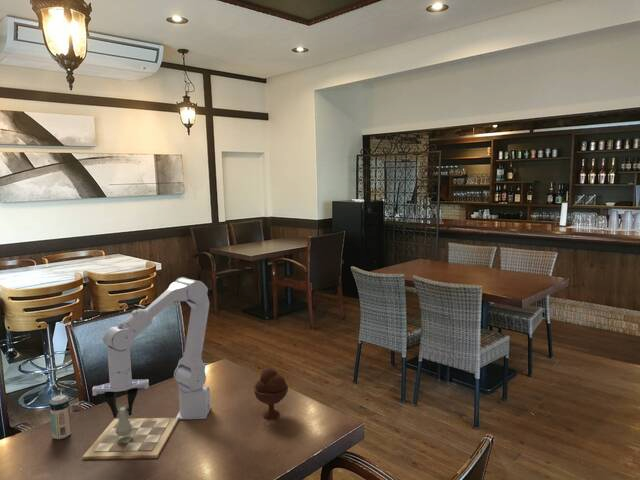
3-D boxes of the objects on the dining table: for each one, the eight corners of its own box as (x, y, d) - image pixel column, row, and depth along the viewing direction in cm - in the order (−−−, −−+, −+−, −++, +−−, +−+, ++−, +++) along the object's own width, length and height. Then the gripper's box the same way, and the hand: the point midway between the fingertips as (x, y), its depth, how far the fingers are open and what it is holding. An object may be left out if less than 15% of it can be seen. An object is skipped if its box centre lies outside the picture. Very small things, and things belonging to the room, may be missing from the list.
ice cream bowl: (247, 420, 142) (246, 374, 140) (265, 404, 152) (264, 361, 150) (278, 426, 138) (277, 379, 136) (293, 410, 148) (293, 366, 146)
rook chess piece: (134, 426, 134) (132, 402, 132) (129, 436, 129) (128, 412, 127) (118, 427, 133) (116, 403, 131) (113, 437, 129) (111, 412, 127)
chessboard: (178, 420, 142) (178, 417, 142) (157, 457, 123) (157, 454, 122) (114, 421, 142) (114, 418, 142) (82, 459, 122) (82, 455, 122)
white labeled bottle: (74, 432, 136) (71, 393, 135) (64, 440, 131) (61, 401, 130) (59, 431, 136) (56, 393, 135) (48, 440, 132) (45, 400, 130)
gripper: (148, 360, 134) (150, 404, 135) (94, 367, 129) (97, 412, 131) (146, 370, 127) (149, 415, 129) (89, 377, 123) (93, 424, 124)
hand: (122, 414), depth 129 cm, fingers closed on rook chess piece, 3 cm apart
